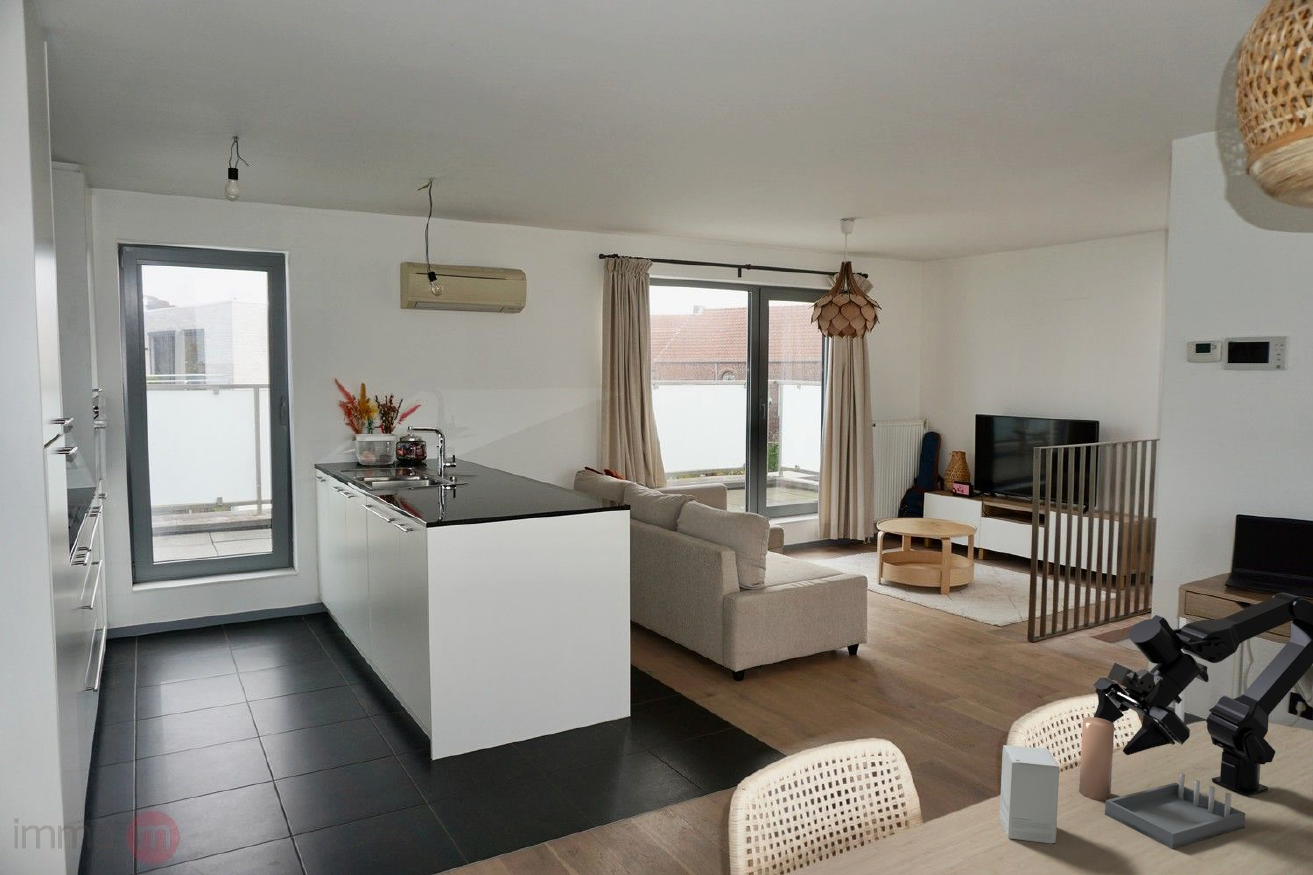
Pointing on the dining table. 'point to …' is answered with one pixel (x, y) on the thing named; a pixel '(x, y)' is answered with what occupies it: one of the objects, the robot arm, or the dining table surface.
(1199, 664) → the robot arm
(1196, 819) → the drying tray
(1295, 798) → the dining table surface
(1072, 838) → the dining table surface
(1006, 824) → the supplement box
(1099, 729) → the peach pillar candle
